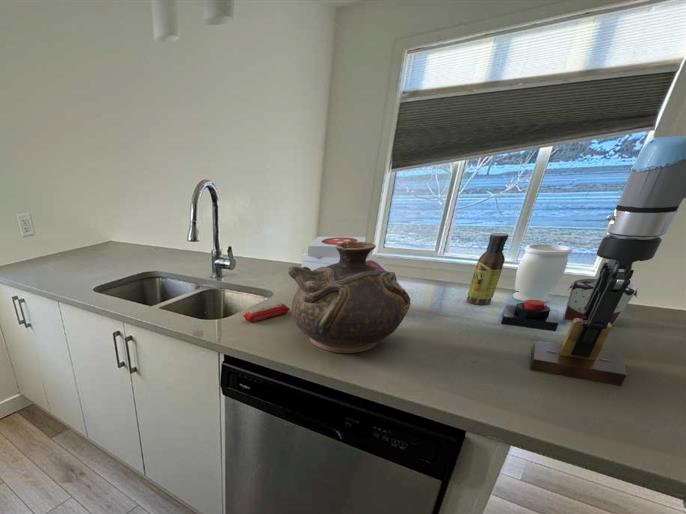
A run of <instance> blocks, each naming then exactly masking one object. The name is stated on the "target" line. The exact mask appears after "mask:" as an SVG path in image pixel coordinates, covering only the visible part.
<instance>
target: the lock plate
mask: <svg viewBox="0 0 686 514" xmlns="http://www.w3.org/2000/svg"><path fill="white" fill-rule="evenodd" d="M562 345H563V343H556V342H551V341H544V340H543V341H542V340H534V341H533V344H532V346H531V348H530V361H529V362H530V363H529V370H531V371H536V372H542V373H548V374H553V375H558V376H564V377H570V378H576V379H580V380H586V381H592V382H598V383H602V384H603V383H604V384H608V385H614V386H615V385H616V386H619V387H621V386H622V385H623V384H624V382H625V379H626V378H627V376H628V373H627V370H626V367H625V364H624V361H623V358H622V354H621V352H618V351H612V350H611V351H610V350H605V349H601V350H600V352H599V354H598V356H597V358H596V360H595V361H594V360H588V359H581V358H575V357H569V356H562V355H560V349H561V347H562Z"/></svg>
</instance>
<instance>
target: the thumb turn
mask: <svg viewBox="0 0 686 514" xmlns="http://www.w3.org/2000/svg"><path fill="white" fill-rule="evenodd" d="M587 321H588V320H582V319H581V318H575V319H574V320H573V321H571V324H570V326H569V328H568V330H567V331H568V332H567V334H566V336H565V337H564V341H563V343H562V344H563V345H562V347H561V349H560V355H562V356H569V357H575V358H581V359H588V360H594V361H595V360H596V358H597V356H598V354H599V352H600V350H602V348H603V346H604V345H605V342H606V340H607V338H608V336H609V334H610V332H611V330H612V328H613V327H612V326H611V323H608V326H607V327H606V329H602V331H601V333H600V335H599V337H598V339H597V341H596V344H595V346H594V348H593V350H592V352H591V354H590V356H589V358H588V357H581V356H575V355H571V352H572V350H573V348H574V346H575V343H576V341H577V339H578V337H579V335H580V332H581V330H582V328H583V326H581V323H586V322H587Z"/></svg>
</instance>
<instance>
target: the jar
mask: <svg viewBox="0 0 686 514" xmlns="http://www.w3.org/2000/svg"><path fill="white" fill-rule="evenodd" d="M523 250H524V252H525V253H524V254H523V256H522V257H521V259H520V261H519V263H518V266H517V270H516V274H515V280H514V281H515V282H514V288H515V289H514V290H515V292H514V293H513V294H512V297H513V299H515V300H517V301H519V302H523V303H525V301H526V300H540V301H543V302H545V303H546V302H548V301H549V295H550V294H551V293H552V292H553V291H554V290H555V288H556V287H557V285H558V284H559V282H560V280H561V279H562V278H563V276H564V273H565V271H566V268H567V265H568V261H569V255H571V254H572V253H573V250H574V248H573V247H572V246H568V245H563V244H554V243H532V244H531V243H530V244H527V245H525V246H524V249H523ZM516 291H519V292H516Z"/></svg>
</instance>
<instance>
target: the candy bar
mask: <svg viewBox="0 0 686 514" xmlns="http://www.w3.org/2000/svg"><path fill="white" fill-rule="evenodd" d="M289 311H291V309H290V307H288V306H287V305H285V304H284V303H282V302H280V303H276V304H271V305H268V306H263V307H259V308H256V309H251V310H248V311H246V312H245V313H244V314H242V316H243V317H244V319H245V321H246V322H249V323H256V322H259V321H263V320H266V319H270V318H274V317H278V316H281V315H285V314H287V313H288V312H289Z"/></svg>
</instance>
